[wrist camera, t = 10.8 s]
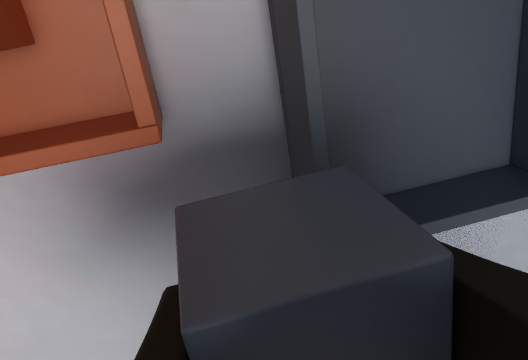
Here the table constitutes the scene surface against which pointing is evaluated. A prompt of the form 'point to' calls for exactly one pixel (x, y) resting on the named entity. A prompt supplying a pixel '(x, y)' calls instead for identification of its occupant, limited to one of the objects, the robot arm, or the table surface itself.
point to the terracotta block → (14, 26)
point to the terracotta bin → (76, 86)
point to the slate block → (311, 275)
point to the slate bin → (410, 100)
